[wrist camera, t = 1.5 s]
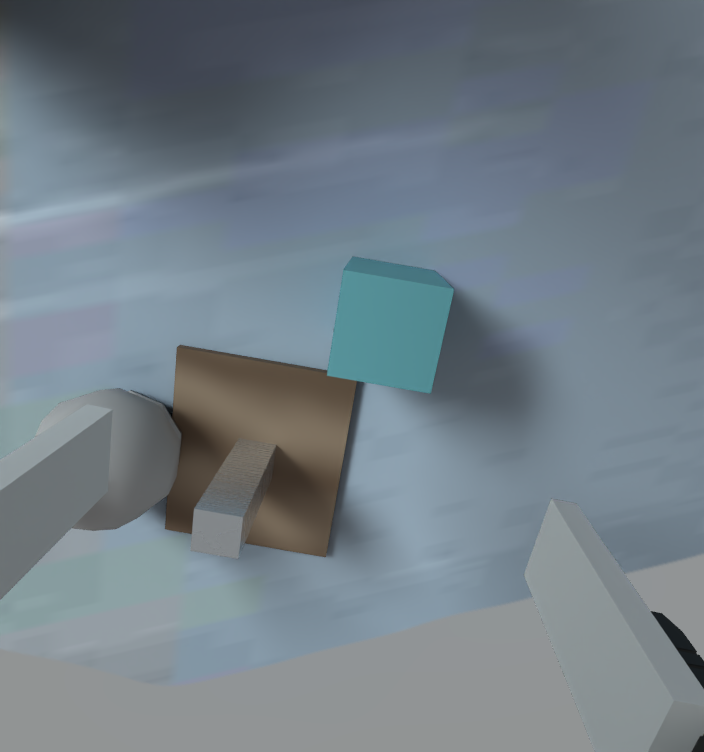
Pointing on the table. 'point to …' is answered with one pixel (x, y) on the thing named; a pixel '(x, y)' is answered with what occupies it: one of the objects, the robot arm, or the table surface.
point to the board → (263, 424)
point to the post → (233, 499)
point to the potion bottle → (129, 455)
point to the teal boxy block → (389, 324)
